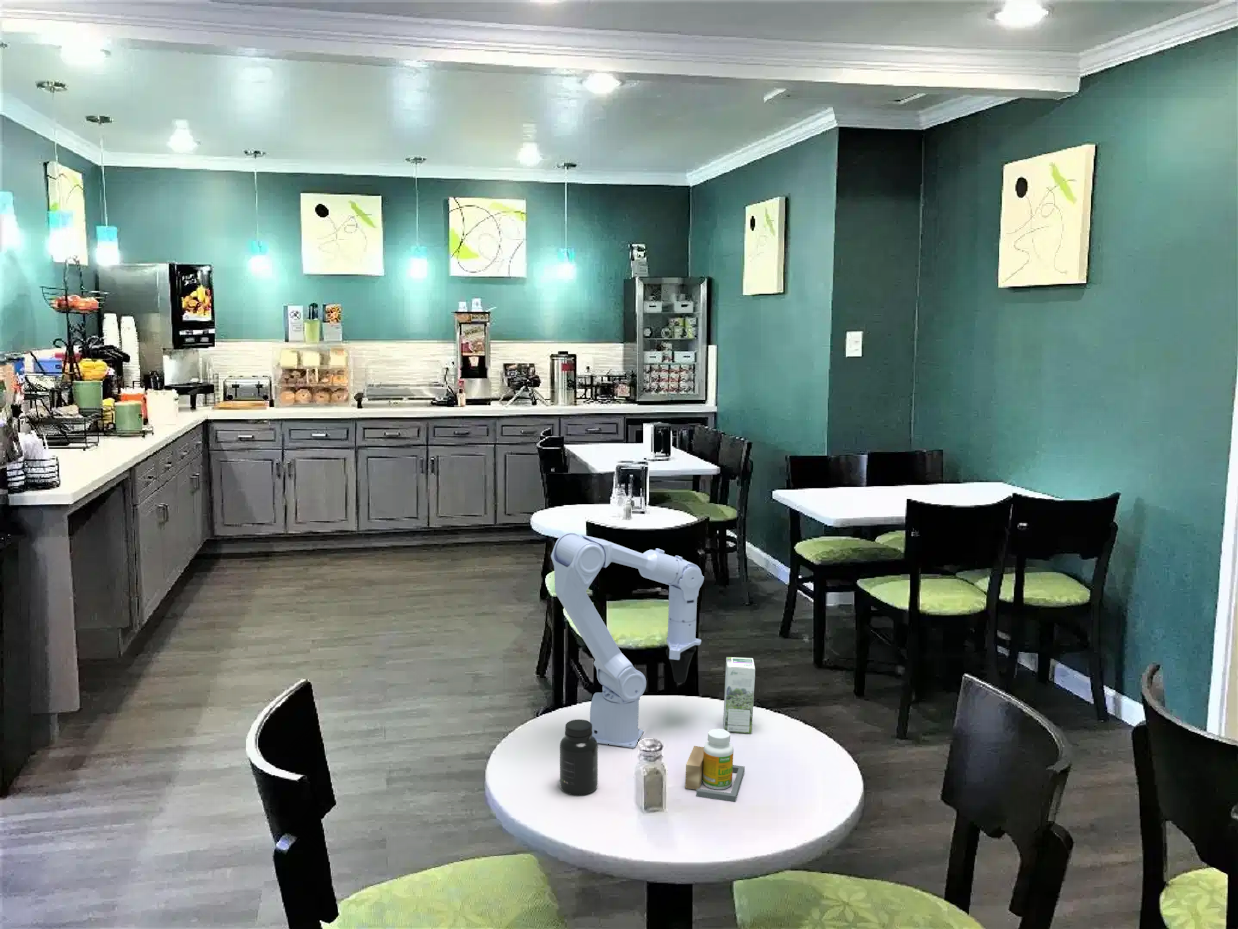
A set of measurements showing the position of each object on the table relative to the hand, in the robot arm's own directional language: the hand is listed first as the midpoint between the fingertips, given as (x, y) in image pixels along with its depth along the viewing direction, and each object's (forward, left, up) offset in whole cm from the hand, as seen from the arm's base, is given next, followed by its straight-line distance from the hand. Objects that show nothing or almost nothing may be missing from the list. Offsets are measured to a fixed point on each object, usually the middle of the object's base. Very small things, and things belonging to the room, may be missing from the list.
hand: (680, 681), depth 207 cm
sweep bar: (+8, -23, -9) cm, 26 cm away
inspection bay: (+12, -23, -9) cm, 28 cm away
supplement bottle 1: (-12, -32, -10) cm, 35 cm away
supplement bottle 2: (+12, -23, -10) cm, 28 cm away
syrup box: (+12, +2, -10) cm, 15 cm away
